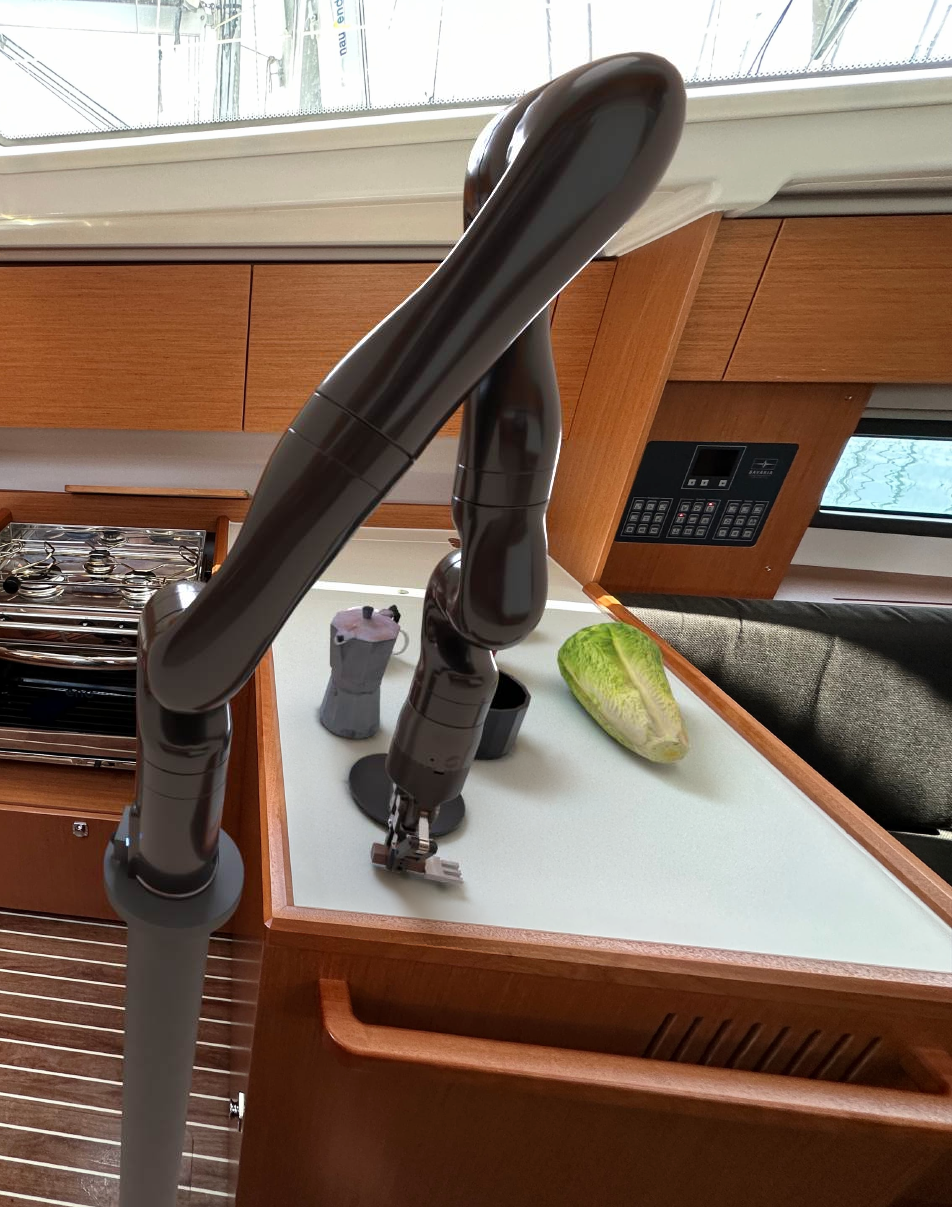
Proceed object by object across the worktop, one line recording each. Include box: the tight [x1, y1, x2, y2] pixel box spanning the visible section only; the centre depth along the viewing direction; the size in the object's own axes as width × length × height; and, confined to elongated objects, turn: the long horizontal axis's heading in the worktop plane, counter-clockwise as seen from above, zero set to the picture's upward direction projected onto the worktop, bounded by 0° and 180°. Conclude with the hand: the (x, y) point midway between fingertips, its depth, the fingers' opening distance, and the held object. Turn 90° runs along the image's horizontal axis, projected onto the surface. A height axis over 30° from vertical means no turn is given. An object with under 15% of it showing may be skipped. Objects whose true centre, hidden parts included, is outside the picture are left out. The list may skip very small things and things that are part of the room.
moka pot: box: [319, 604, 402, 739], centre depth 89 cm, size 10×15×20 cm, turn 132°
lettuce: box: [556, 621, 691, 764], centre depth 93 cm, size 14×24×14 cm
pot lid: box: [347, 752, 466, 837], centre depth 79 cm, size 14×14×6 cm
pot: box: [473, 668, 532, 761], centre depth 91 cm, size 13×13×8 cm
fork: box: [370, 842, 464, 886], centre depth 68 cm, size 10×3×2 cm, turn 77°
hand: (394, 861), depth 69 cm, fingers closed on fork, 1 cm apart
